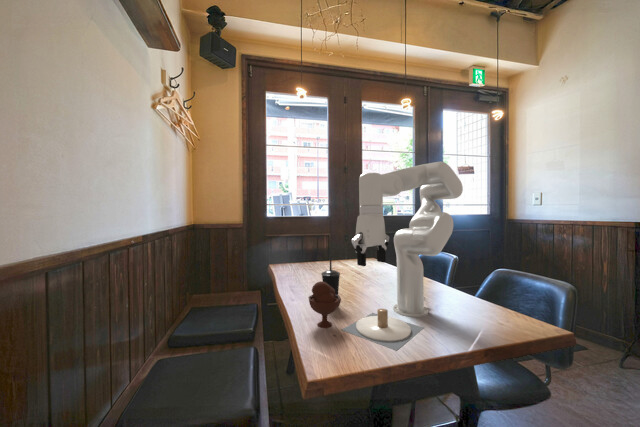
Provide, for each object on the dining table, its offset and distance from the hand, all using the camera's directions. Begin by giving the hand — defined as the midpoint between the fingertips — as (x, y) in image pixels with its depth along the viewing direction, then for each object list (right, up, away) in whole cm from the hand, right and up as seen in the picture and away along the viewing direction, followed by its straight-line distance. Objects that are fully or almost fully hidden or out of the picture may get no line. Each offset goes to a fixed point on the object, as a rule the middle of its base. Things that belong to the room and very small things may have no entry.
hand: (371, 263), depth 84 cm
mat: (+3, -21, -1) cm, 21 cm away
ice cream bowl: (-15, -22, +2) cm, 26 cm away
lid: (+3, -21, -1) cm, 21 cm away
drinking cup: (-12, -22, +20) cm, 32 cm away
